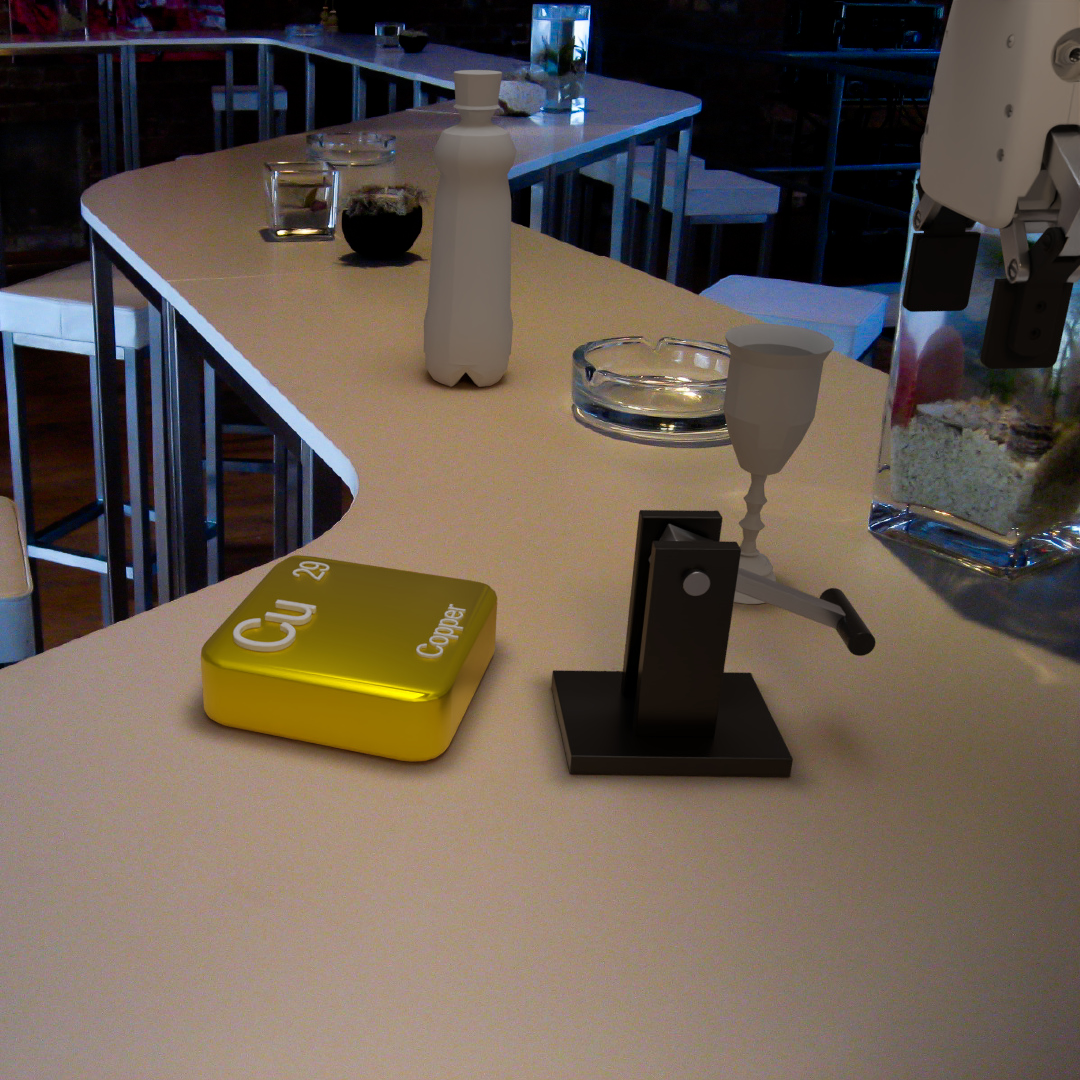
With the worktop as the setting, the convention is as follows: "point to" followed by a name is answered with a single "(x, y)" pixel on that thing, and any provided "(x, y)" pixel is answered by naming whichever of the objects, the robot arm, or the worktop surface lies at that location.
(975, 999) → the worktop surface
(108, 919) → the worktop surface
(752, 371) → the chalice
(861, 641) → the lever
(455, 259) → the bottle
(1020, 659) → the worktop surface
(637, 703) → the bracket
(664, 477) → the worktop surface
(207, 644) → the element tile
